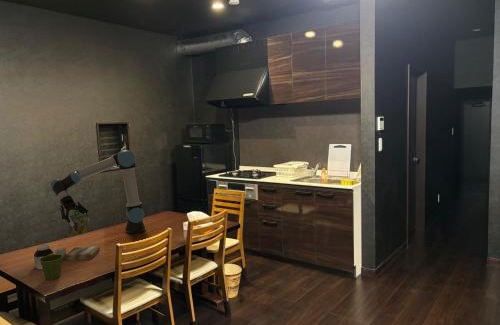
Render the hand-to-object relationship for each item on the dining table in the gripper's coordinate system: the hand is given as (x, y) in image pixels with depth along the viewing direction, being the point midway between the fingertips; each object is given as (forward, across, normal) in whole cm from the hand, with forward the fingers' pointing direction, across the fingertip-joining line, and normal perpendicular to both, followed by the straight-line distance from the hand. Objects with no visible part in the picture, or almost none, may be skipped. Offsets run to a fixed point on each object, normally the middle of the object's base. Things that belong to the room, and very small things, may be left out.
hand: (81, 223), depth 252 cm
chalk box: (+3, 0, -7) cm, 7 cm away
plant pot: (+32, +38, +7) cm, 50 cm away
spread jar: (+17, +30, -9) cm, 36 cm away
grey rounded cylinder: (+15, +17, -11) cm, 25 cm away
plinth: (+20, +7, -6) cm, 22 cm away
